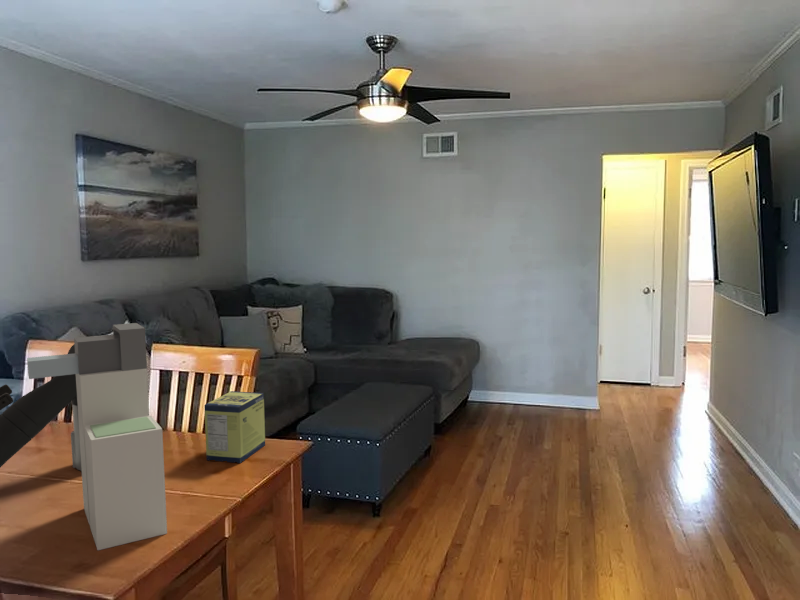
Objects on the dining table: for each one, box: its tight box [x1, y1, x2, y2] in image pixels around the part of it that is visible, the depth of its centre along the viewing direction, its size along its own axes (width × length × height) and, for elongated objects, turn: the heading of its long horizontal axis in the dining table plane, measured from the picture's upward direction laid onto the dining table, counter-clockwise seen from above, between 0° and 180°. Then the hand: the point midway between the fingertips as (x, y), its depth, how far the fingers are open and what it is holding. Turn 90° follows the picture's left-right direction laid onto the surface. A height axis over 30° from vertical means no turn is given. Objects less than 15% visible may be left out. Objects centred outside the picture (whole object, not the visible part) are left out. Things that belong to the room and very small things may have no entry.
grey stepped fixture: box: [76, 322, 168, 551], centre depth 136 cm, size 13×22×41 cm, turn 32°
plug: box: [26, 334, 122, 380], centre depth 136 cm, size 19×7×7 cm, turn 122°
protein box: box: [203, 390, 266, 464], centre depth 179 cm, size 10×16×16 cm
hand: (10, 392), depth 130 cm, fingers open, 8 cm apart
